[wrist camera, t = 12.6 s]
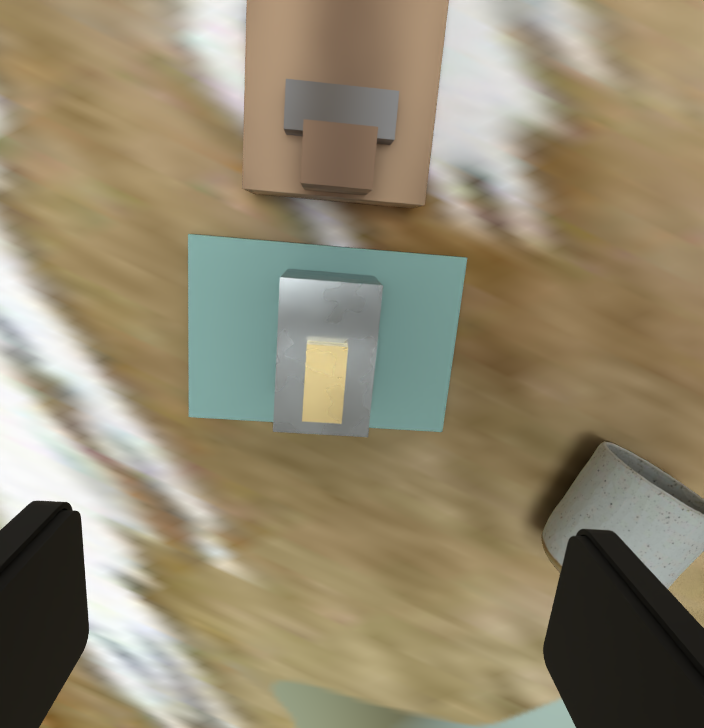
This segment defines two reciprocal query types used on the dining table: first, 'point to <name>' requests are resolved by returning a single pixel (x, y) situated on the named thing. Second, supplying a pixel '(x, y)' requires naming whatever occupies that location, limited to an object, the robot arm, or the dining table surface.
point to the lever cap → (326, 352)
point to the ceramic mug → (630, 512)
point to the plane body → (342, 98)
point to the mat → (260, 324)
